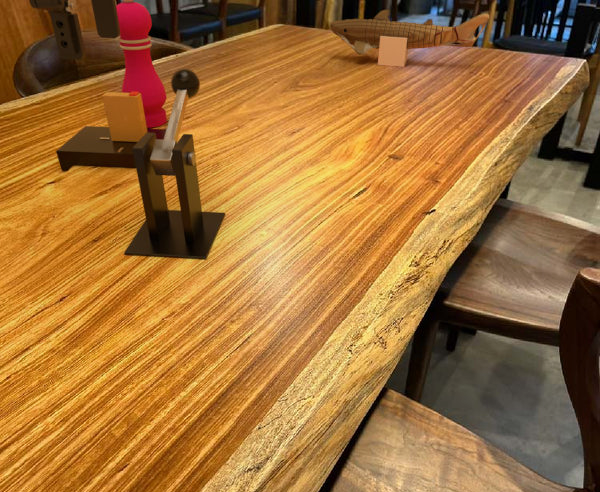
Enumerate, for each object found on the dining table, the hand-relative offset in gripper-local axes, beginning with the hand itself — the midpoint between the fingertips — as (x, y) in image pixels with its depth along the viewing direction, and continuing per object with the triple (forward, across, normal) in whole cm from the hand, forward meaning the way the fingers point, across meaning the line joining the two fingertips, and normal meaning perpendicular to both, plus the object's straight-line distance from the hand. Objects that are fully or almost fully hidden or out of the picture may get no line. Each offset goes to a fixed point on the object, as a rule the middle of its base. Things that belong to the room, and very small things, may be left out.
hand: (92, 47), depth 53 cm
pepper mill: (+20, -35, -10) cm, 41 cm away
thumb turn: (+17, -19, -6) cm, 26 cm away
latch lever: (+9, -3, +7) cm, 12 cm away
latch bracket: (+20, +3, +7) cm, 21 cm away
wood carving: (+20, -80, +36) cm, 90 cm away
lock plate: (+20, -19, -8) cm, 29 cm away
